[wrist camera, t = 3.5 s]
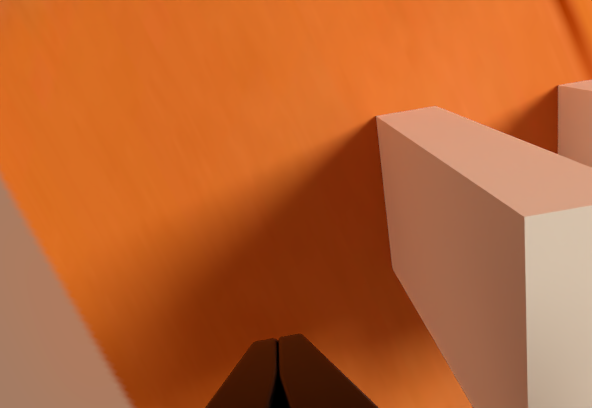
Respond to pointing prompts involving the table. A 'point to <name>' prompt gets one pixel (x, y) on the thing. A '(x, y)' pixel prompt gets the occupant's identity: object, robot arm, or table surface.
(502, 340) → the domino
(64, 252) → the table surface
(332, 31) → the table surface
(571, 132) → the domino
